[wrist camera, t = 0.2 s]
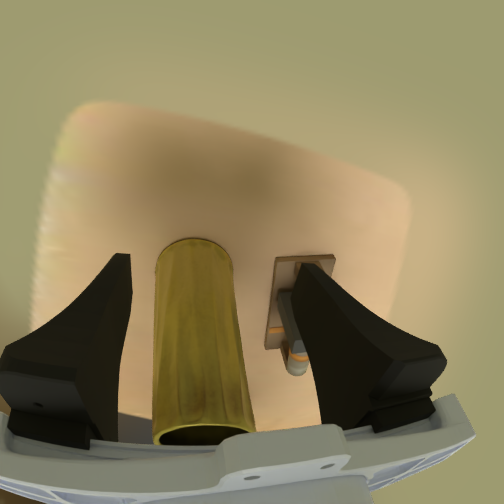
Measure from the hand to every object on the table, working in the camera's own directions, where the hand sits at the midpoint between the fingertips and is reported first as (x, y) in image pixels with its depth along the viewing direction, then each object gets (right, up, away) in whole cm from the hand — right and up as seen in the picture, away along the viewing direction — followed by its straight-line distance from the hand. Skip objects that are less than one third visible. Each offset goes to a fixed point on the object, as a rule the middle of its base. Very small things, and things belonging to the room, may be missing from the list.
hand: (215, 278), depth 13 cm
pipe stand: (+6, -4, +16) cm, 18 cm away
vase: (-3, 0, +12) cm, 13 cm away
